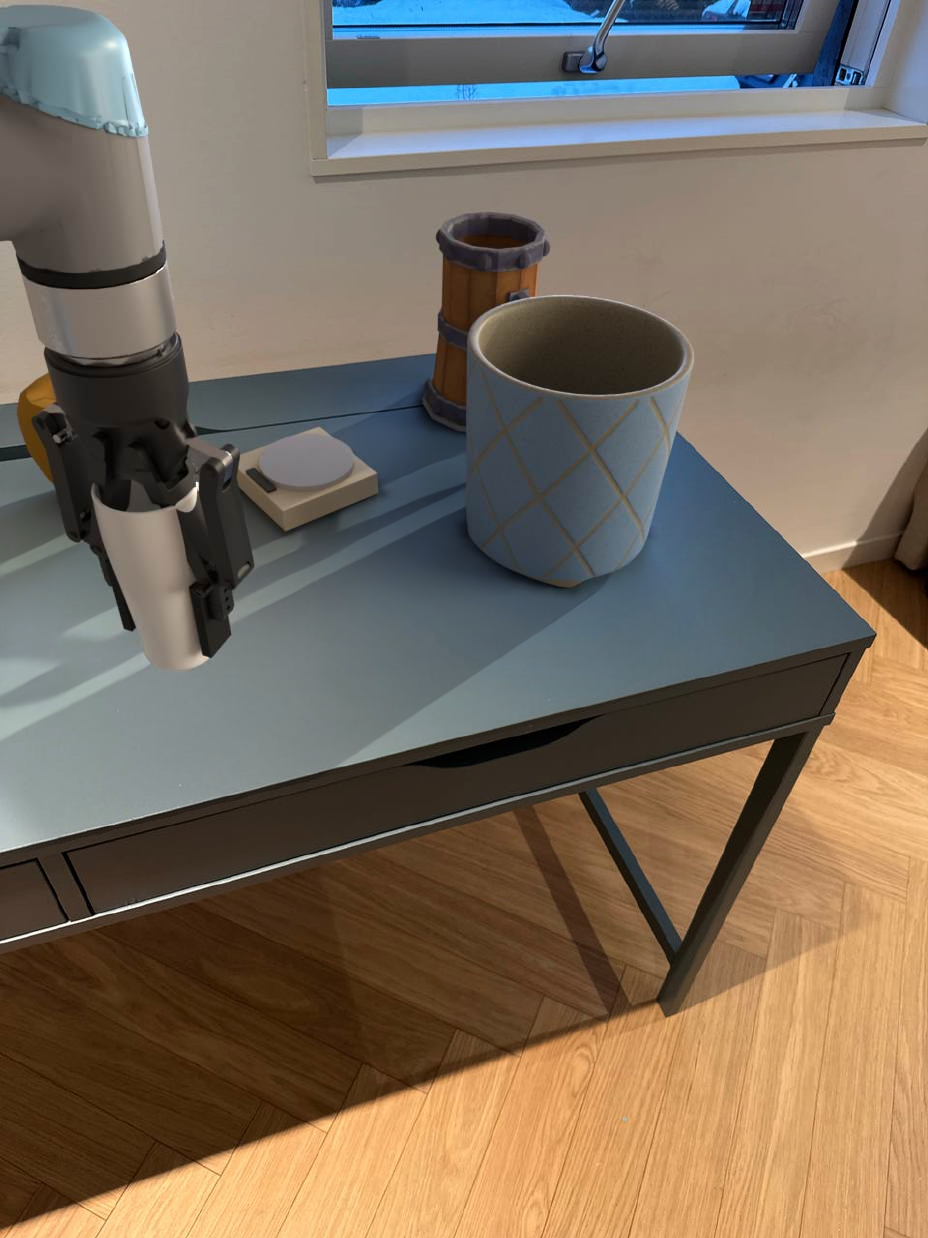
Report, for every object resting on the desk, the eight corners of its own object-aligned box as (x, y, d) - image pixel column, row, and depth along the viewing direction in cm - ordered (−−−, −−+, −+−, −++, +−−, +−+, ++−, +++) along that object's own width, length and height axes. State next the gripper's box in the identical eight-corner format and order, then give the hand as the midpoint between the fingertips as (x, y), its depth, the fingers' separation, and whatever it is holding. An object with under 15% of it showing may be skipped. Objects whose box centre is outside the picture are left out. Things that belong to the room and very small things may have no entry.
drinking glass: (246, 650, 68) (220, 485, 58) (168, 697, 65) (127, 529, 55) (193, 607, 72) (160, 443, 62) (116, 648, 68) (68, 482, 58)
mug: (595, 432, 104) (623, 257, 90) (493, 469, 97) (506, 287, 84) (496, 362, 115) (508, 197, 101) (399, 391, 109) (397, 219, 95)
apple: (42, 471, 94) (4, 356, 85) (150, 454, 97) (123, 341, 88) (47, 534, 86) (6, 415, 78) (164, 513, 89) (136, 396, 81)
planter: (572, 624, 80) (605, 426, 66) (419, 530, 89) (420, 339, 75) (688, 531, 90) (737, 344, 77) (540, 455, 100) (561, 276, 86)
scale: (285, 531, 88) (282, 505, 86) (230, 479, 94) (226, 453, 92) (378, 493, 93) (377, 467, 91) (320, 445, 99) (318, 421, 97)
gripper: (293, 344, 52) (316, 636, 67) (20, 280, 56) (102, 568, 72) (221, 404, 46) (264, 705, 62) (-73, 328, 51) (37, 627, 67)
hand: (177, 631), depth 67 cm, fingers closed on drinking glass, 6 cm apart
